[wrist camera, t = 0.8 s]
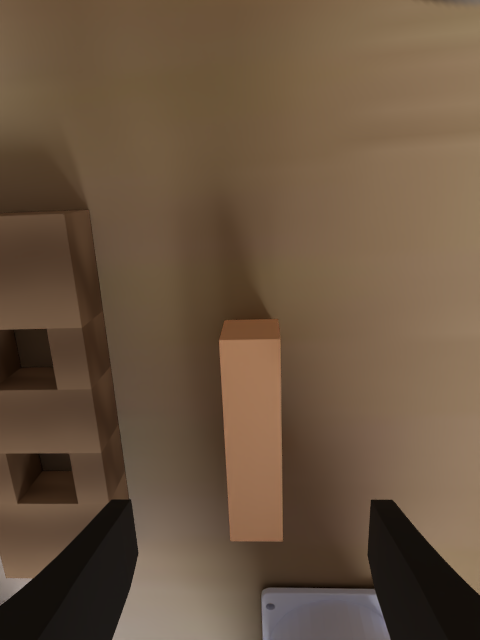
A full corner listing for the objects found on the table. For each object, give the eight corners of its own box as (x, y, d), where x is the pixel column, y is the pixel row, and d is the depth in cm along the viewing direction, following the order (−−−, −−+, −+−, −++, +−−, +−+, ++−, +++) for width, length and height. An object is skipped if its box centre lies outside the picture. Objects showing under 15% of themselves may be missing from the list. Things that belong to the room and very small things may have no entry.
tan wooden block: (278, 472, 23) (283, 541, 18) (236, 471, 23) (230, 541, 18) (276, 304, 20) (280, 338, 16) (228, 305, 20) (218, 340, 16)
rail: (134, 540, 24) (120, 579, 22) (30, 539, 25) (6, 577, 22) (89, 209, 19) (63, 213, 17) (-44, 214, 19) (-87, 219, 17)
